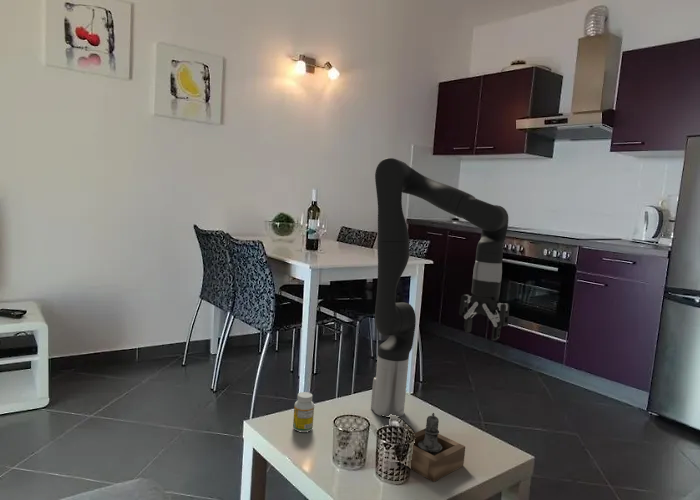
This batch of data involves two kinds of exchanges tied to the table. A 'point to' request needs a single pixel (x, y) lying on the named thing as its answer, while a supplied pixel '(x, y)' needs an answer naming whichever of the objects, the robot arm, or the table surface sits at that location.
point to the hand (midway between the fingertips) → (481, 336)
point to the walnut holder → (437, 458)
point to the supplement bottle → (303, 412)
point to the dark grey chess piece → (431, 436)
